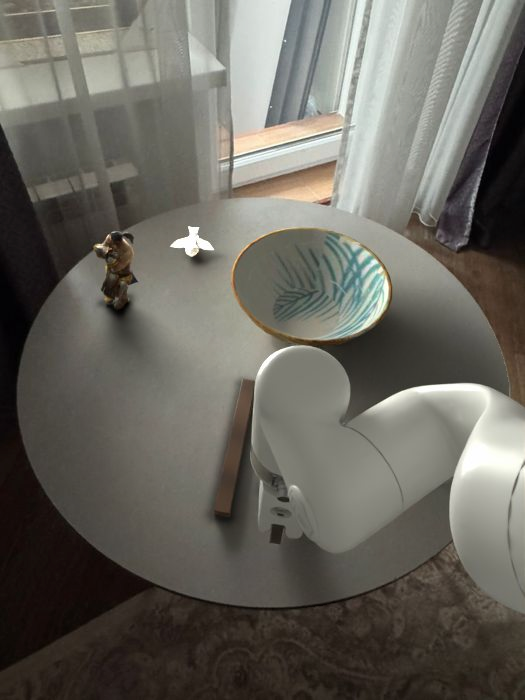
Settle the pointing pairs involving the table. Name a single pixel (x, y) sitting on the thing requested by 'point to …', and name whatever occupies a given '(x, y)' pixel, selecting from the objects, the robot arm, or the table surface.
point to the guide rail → (234, 450)
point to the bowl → (311, 286)
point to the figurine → (116, 267)
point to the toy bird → (192, 243)
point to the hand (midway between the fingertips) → (276, 515)
